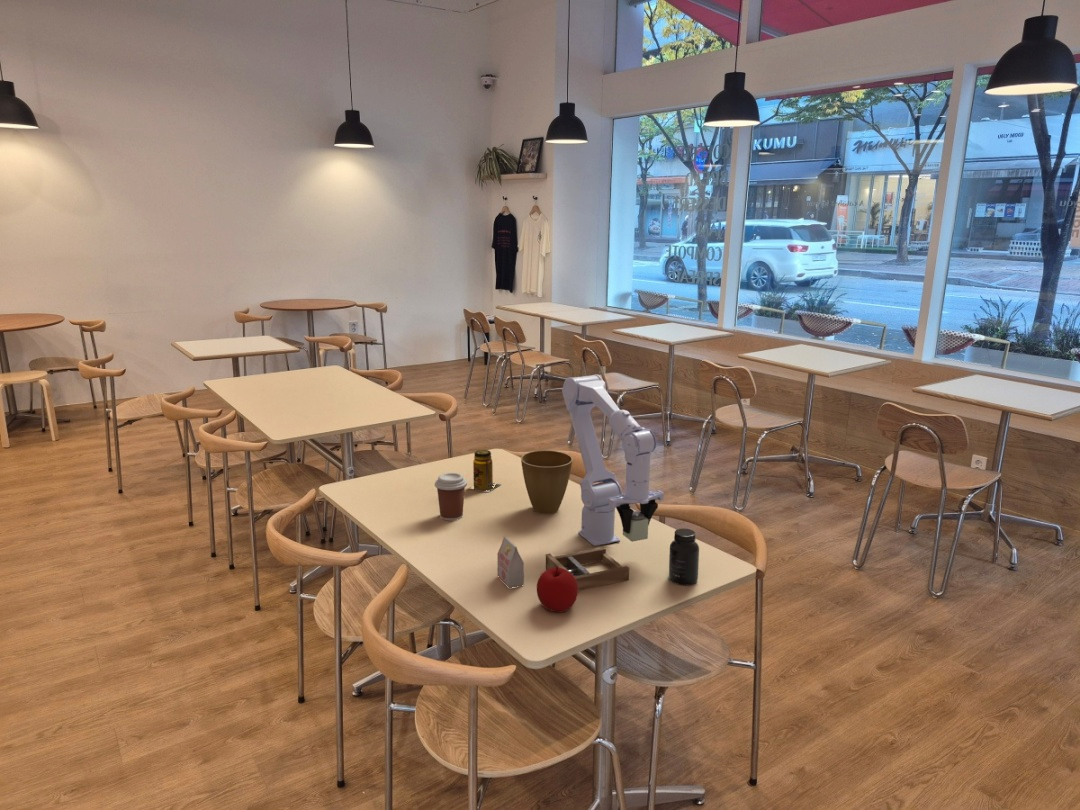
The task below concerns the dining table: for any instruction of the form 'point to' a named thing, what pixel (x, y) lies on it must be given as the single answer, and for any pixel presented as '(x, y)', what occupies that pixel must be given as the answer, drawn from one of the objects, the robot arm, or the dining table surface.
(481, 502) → the dining table surface
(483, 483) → the condiment
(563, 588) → the apple
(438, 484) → the coffee cup
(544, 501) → the plant pot
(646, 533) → the jar
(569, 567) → the pusher plate
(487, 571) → the dining table surface
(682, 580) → the supplement bottle
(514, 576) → the milk carton
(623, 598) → the dining table surface
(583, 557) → the brown wooden shallow box
